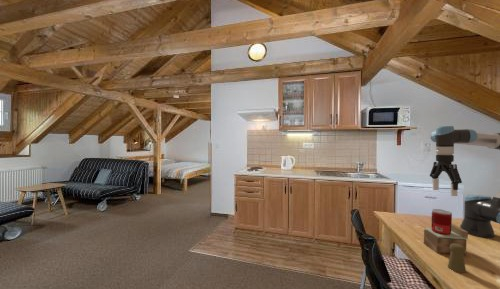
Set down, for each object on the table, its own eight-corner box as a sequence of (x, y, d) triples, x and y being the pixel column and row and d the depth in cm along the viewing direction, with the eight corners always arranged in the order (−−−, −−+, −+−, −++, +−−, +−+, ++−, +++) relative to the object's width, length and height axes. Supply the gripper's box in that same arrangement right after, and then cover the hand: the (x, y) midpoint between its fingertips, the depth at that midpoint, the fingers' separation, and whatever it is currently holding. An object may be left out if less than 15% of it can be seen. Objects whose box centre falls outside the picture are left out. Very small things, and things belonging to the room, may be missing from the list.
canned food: (454, 235, 117) (455, 214, 116) (436, 234, 118) (437, 212, 118) (445, 229, 124) (445, 209, 124) (428, 228, 126) (428, 208, 125)
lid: (451, 230, 125) (451, 223, 125) (467, 239, 115) (467, 231, 114) (425, 229, 127) (425, 222, 127) (438, 237, 116) (439, 230, 116)
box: (449, 245, 126) (450, 231, 126) (465, 255, 115) (466, 239, 115) (423, 243, 127) (424, 229, 127) (437, 253, 117) (437, 238, 116)
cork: (446, 269, 102) (447, 244, 102) (448, 264, 107) (449, 240, 106) (465, 275, 98) (466, 249, 98) (466, 269, 102) (467, 244, 102)
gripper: (422, 152, 140) (422, 187, 141) (455, 156, 115) (454, 198, 116) (436, 152, 139) (435, 187, 140) (471, 156, 115) (471, 198, 115)
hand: (444, 192), depth 128 cm, fingers open, 13 cm apart
